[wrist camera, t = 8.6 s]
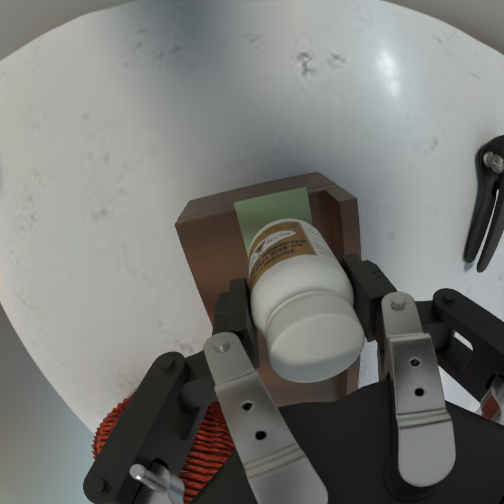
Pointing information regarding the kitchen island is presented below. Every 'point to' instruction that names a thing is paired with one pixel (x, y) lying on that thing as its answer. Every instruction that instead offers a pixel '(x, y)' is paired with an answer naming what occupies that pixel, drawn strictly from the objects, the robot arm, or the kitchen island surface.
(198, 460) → the vase
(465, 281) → the kitchen island surface
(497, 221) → the can opener
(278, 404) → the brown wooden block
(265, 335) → the pill bottle
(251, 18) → the kitchen island surface
